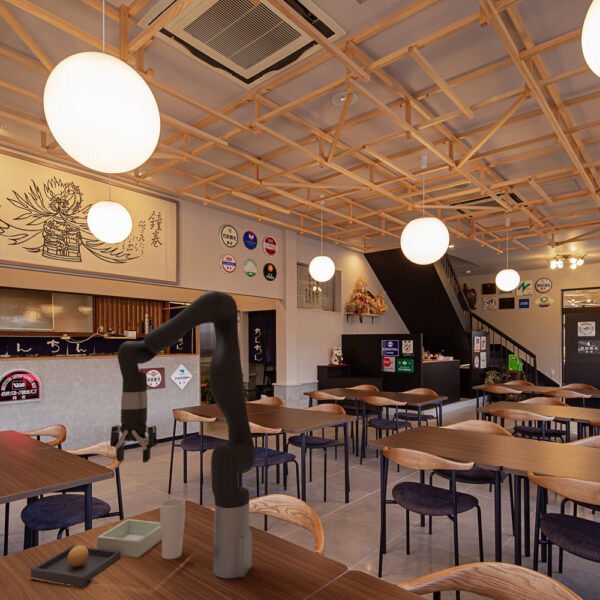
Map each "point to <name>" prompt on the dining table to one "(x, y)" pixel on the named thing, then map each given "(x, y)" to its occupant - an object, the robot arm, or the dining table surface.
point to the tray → (77, 576)
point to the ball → (77, 556)
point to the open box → (131, 537)
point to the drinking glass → (172, 527)
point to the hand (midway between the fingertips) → (133, 461)
